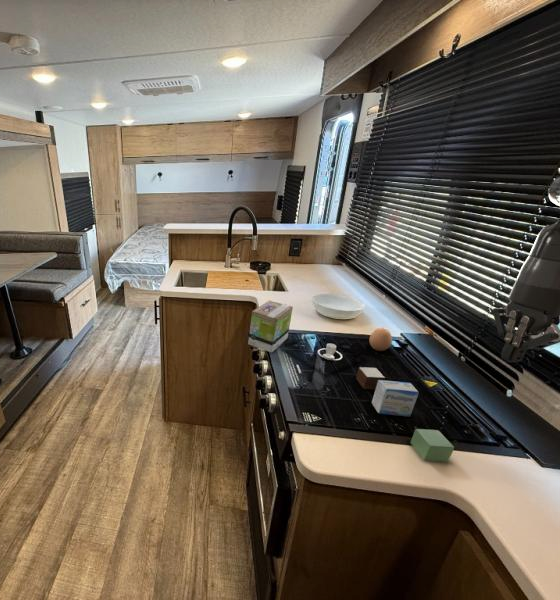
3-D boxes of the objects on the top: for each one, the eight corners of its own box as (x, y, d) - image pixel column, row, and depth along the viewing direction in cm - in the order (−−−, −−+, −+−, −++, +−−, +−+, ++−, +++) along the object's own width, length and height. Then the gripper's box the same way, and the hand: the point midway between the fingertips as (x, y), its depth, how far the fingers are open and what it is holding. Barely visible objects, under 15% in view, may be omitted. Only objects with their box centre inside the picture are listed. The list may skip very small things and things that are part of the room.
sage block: (431, 445, 74) (438, 430, 72) (447, 463, 70) (454, 447, 68) (409, 444, 75) (415, 428, 73) (423, 461, 70) (430, 445, 68)
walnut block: (372, 381, 97) (375, 367, 96) (380, 391, 93) (385, 377, 91) (355, 380, 98) (358, 367, 96) (363, 390, 93) (367, 376, 91)
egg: (391, 350, 113) (397, 328, 110) (384, 357, 110) (391, 334, 106) (371, 343, 118) (377, 322, 115) (364, 349, 115) (369, 327, 111)
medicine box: (377, 414, 84) (385, 389, 81) (370, 403, 88) (378, 378, 85) (410, 418, 82) (419, 392, 79) (401, 406, 86) (410, 381, 83)
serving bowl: (361, 328, 130) (365, 314, 127) (307, 318, 140) (310, 305, 137) (360, 310, 146) (364, 297, 143) (312, 303, 156) (314, 290, 153)
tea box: (272, 354, 113) (277, 318, 107) (247, 345, 119) (250, 310, 114) (288, 339, 123) (293, 305, 117) (264, 331, 129) (268, 299, 124)
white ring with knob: (330, 364, 106) (332, 354, 105) (311, 353, 113) (313, 343, 111) (347, 357, 110) (349, 348, 108) (327, 347, 116) (329, 338, 115)
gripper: (615, 294, 51) (564, 381, 57) (533, 271, 63) (500, 344, 69) (563, 293, 51) (519, 379, 58) (493, 271, 64) (463, 343, 70)
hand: (509, 360), depth 64 cm, fingers closed
